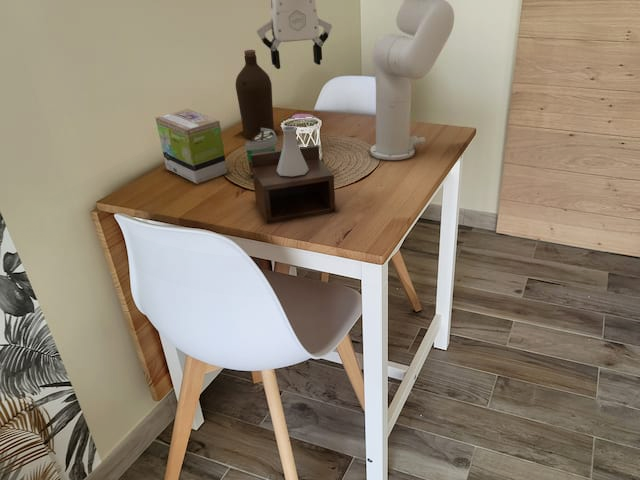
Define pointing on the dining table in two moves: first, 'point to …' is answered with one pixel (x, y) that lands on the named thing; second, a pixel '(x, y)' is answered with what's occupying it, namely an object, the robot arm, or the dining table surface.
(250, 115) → the olive oil
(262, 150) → the food container
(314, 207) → the spice shelf
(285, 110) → the dining table surface
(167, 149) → the tea box
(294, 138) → the flask
